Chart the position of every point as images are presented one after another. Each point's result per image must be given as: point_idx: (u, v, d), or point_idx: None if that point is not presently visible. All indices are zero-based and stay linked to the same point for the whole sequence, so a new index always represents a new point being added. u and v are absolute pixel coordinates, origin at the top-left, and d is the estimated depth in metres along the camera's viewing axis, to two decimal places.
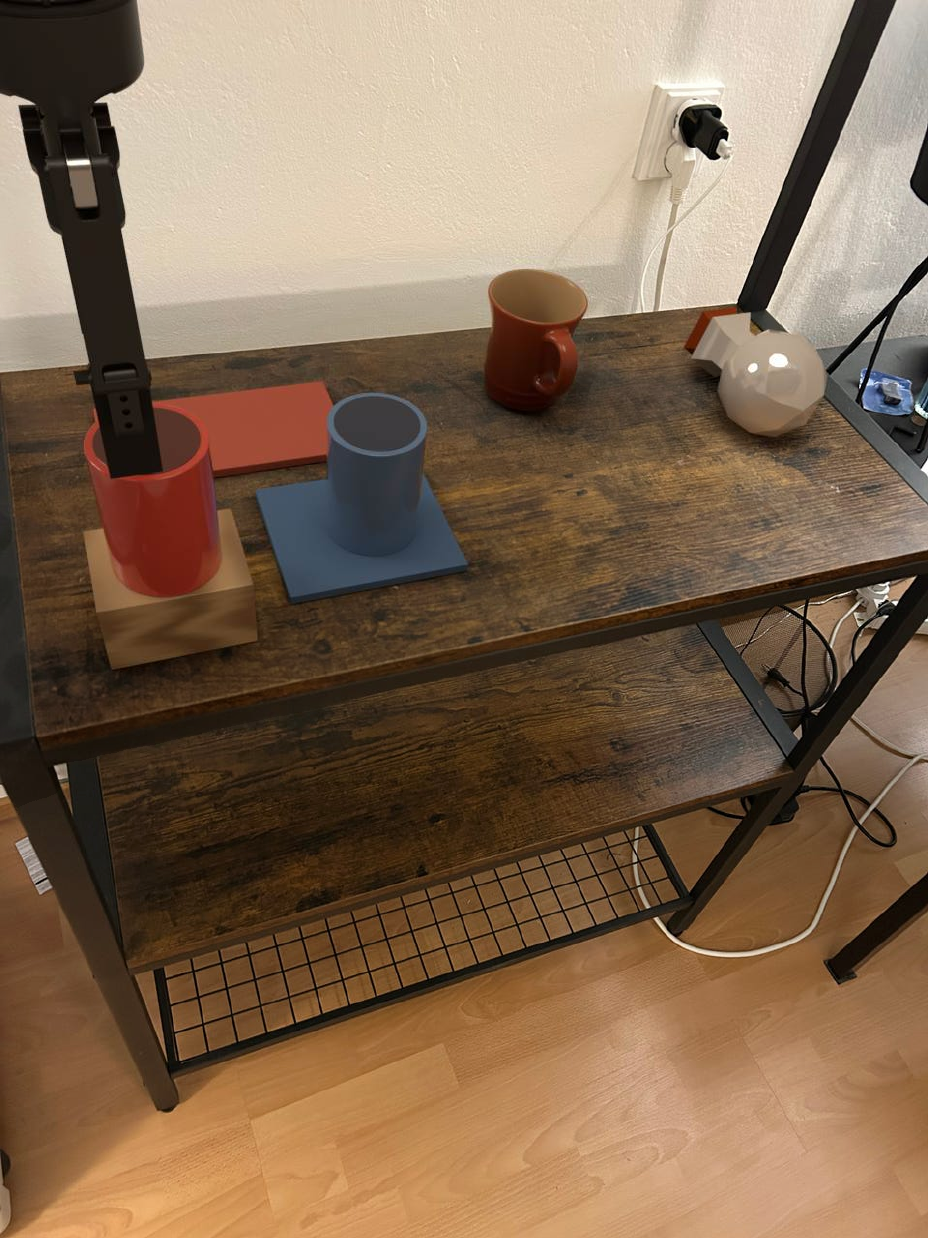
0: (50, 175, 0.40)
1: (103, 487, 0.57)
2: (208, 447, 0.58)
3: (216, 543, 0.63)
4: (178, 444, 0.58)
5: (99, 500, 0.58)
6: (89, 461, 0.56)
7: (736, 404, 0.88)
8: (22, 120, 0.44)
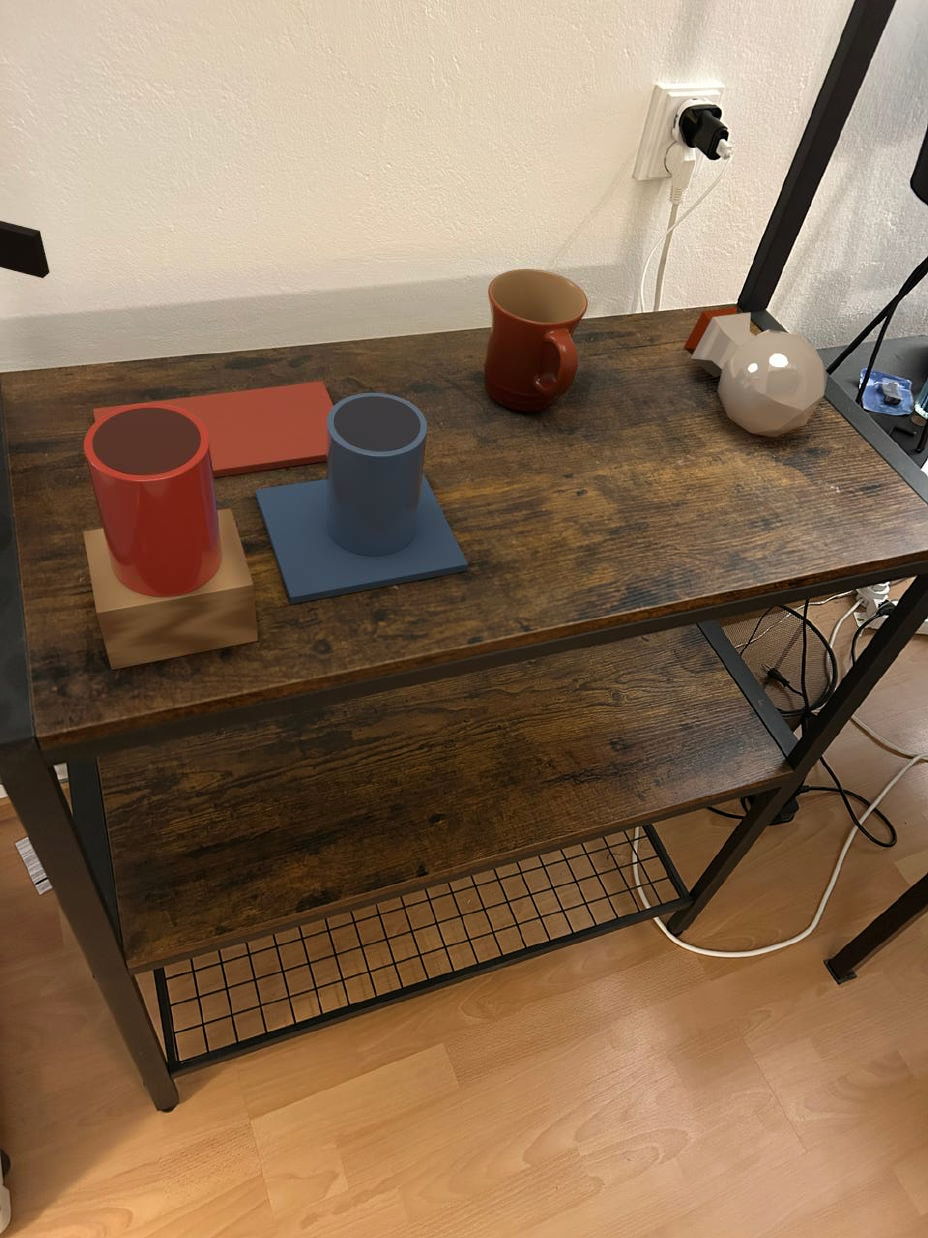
0: None
1: (103, 487, 0.57)
2: (208, 447, 0.58)
3: (216, 543, 0.63)
4: (178, 444, 0.58)
5: (99, 500, 0.58)
6: (89, 461, 0.56)
7: (736, 404, 0.88)
8: None
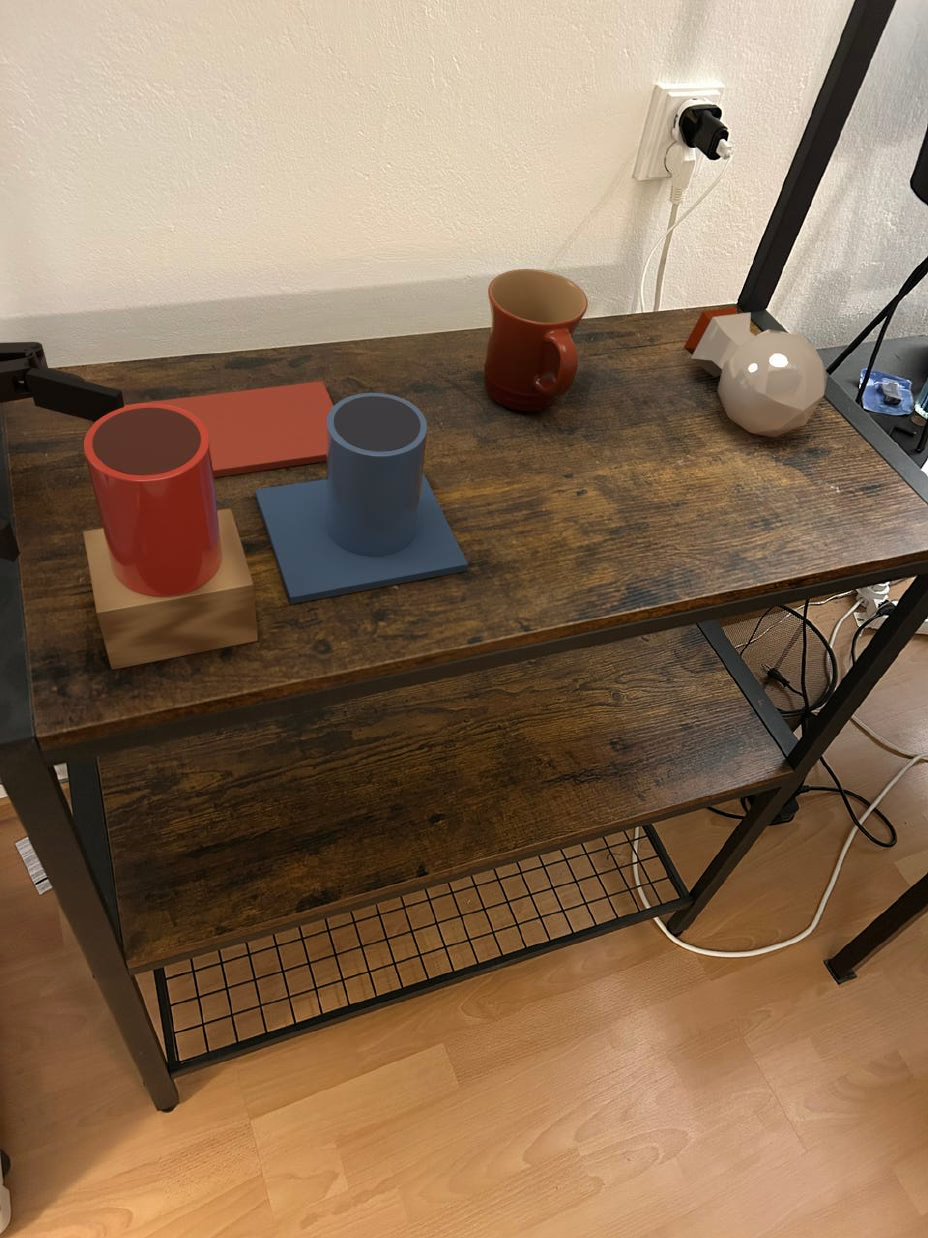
0: None
1: (103, 487, 0.57)
2: (208, 447, 0.58)
3: (216, 543, 0.63)
4: (178, 444, 0.58)
5: (99, 500, 0.58)
6: (89, 461, 0.56)
7: (736, 404, 0.88)
8: None
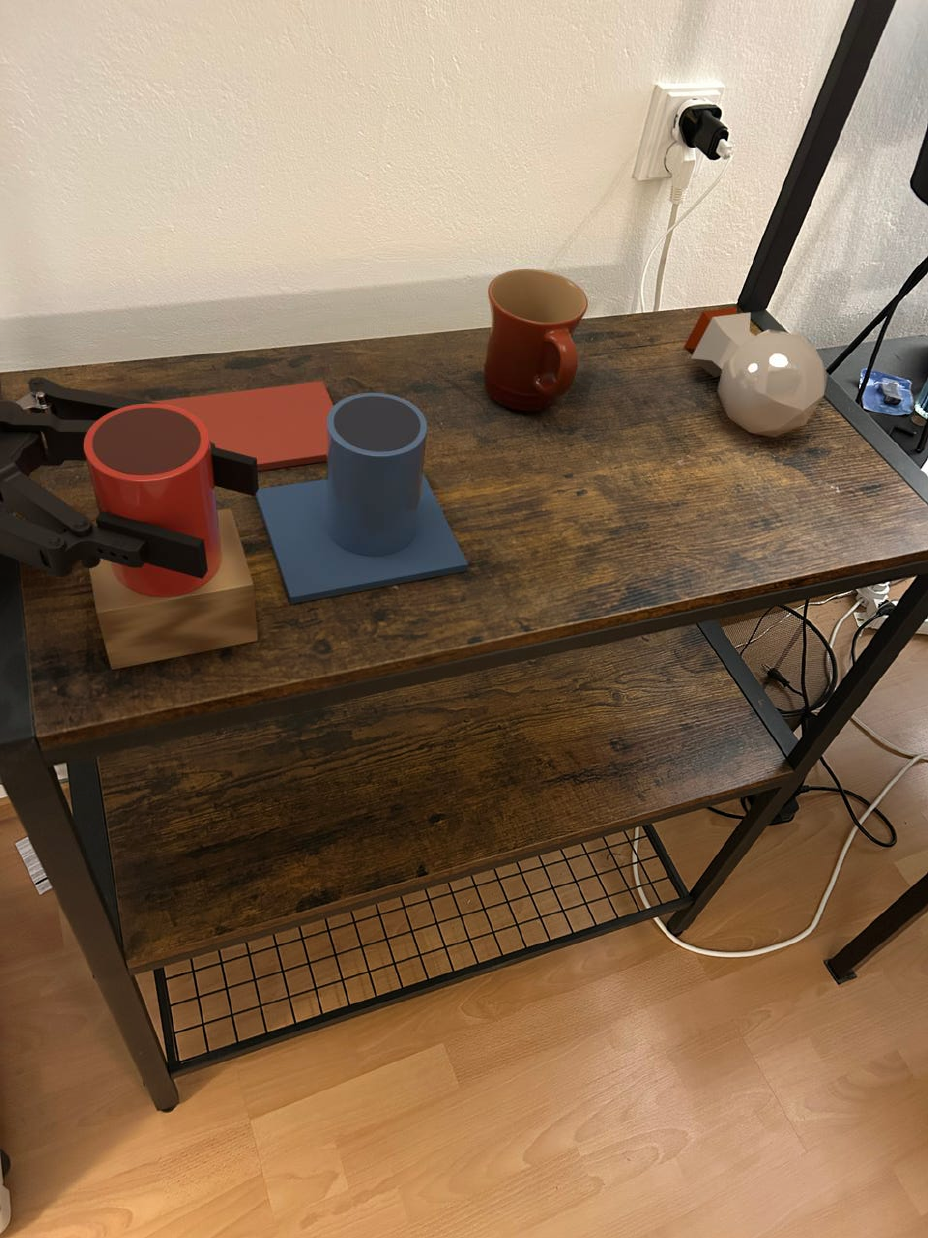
0: (42, 378, 0.66)
1: (103, 487, 0.57)
2: (208, 447, 0.58)
3: (216, 543, 0.63)
4: (178, 444, 0.58)
5: (99, 500, 0.58)
6: (89, 461, 0.56)
7: (736, 404, 0.88)
8: None
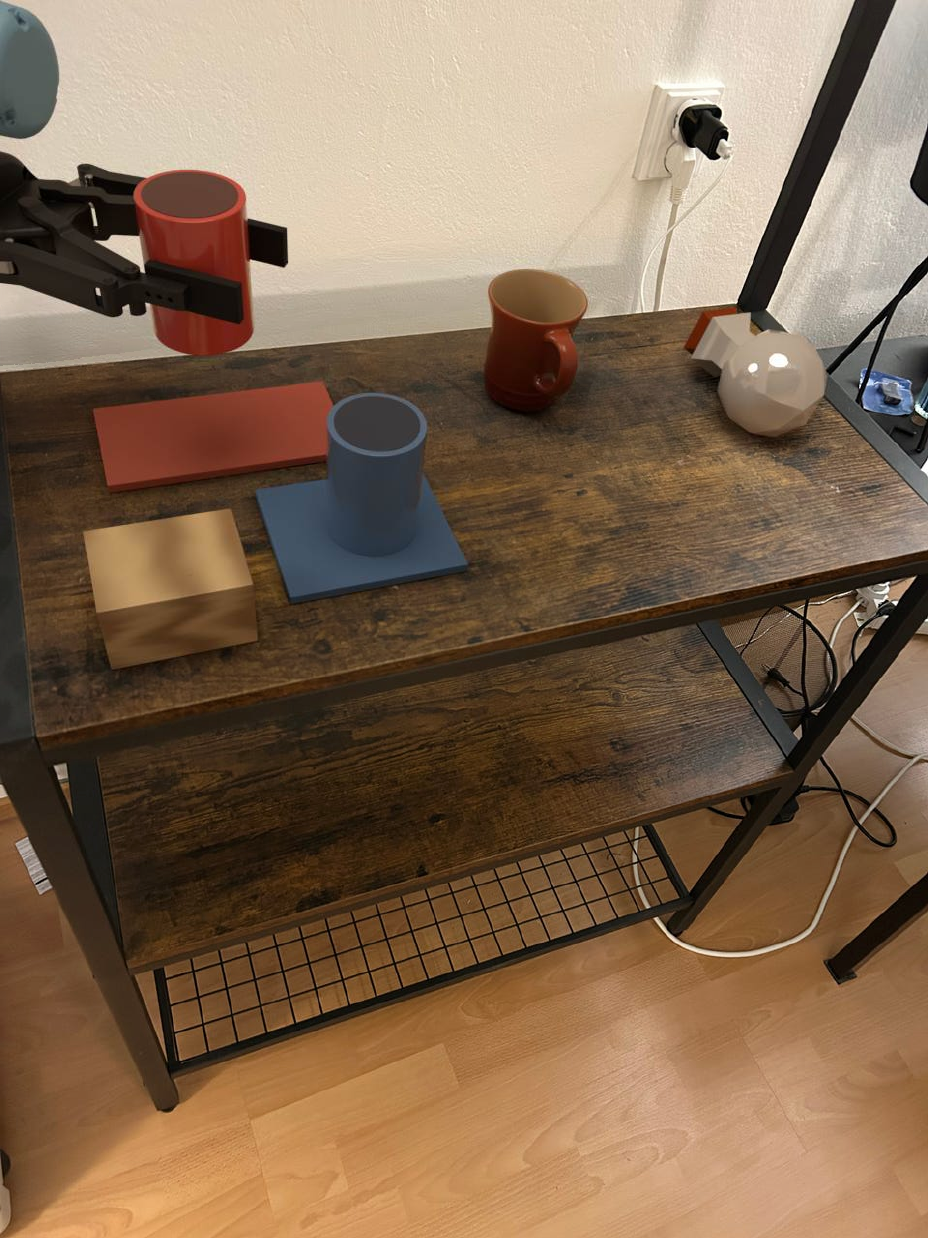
0: (90, 164, 0.72)
1: (151, 233, 0.63)
2: (245, 202, 0.64)
3: (250, 308, 0.69)
4: (218, 198, 0.64)
5: (146, 250, 0.64)
6: (139, 207, 0.62)
7: (736, 404, 0.88)
8: (26, 197, 0.66)
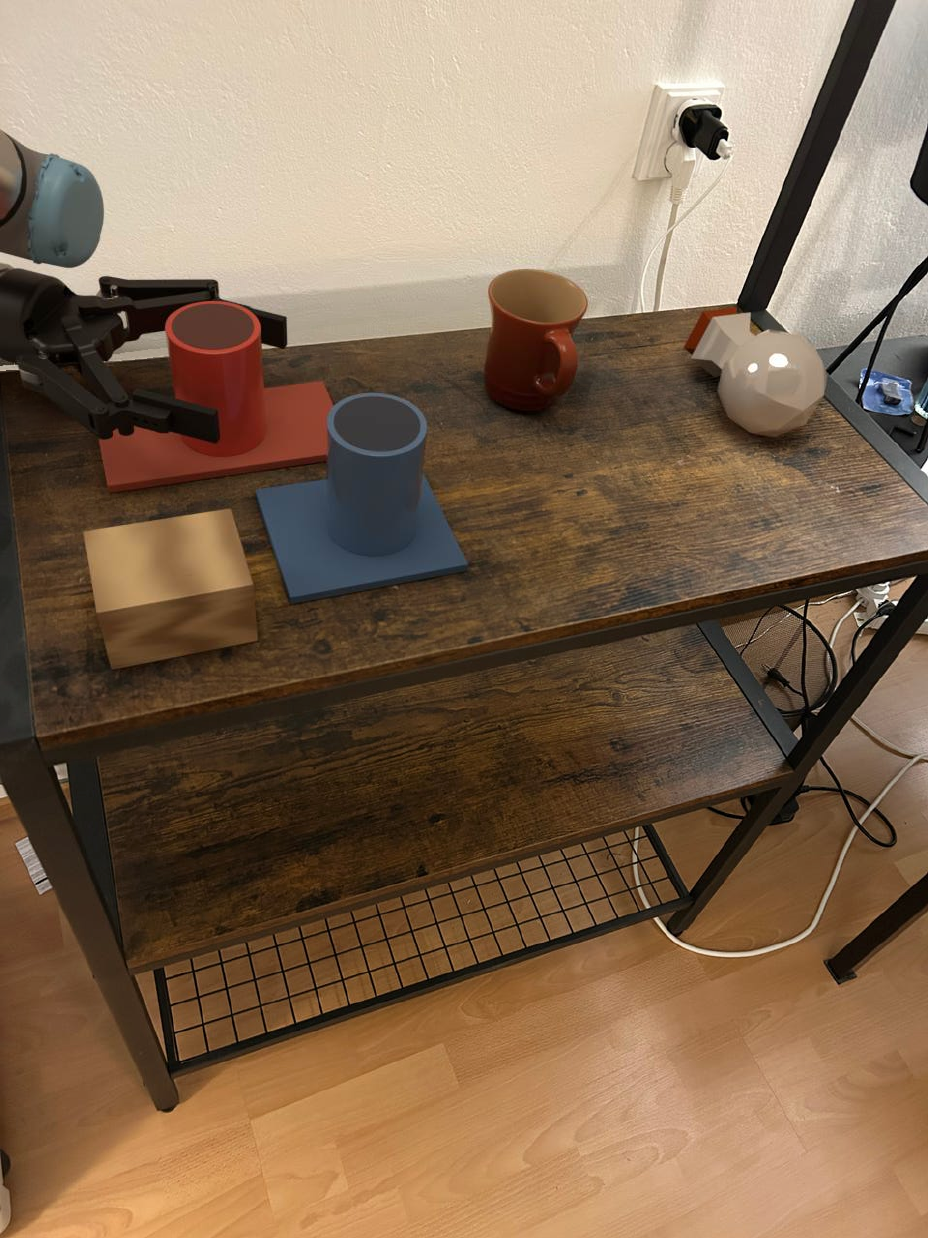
0: (107, 276, 0.82)
1: (180, 360, 0.74)
2: (260, 332, 0.75)
3: (263, 415, 0.80)
4: (237, 329, 0.75)
5: (175, 373, 0.75)
6: (170, 339, 0.73)
7: (736, 404, 0.88)
8: (70, 315, 0.77)
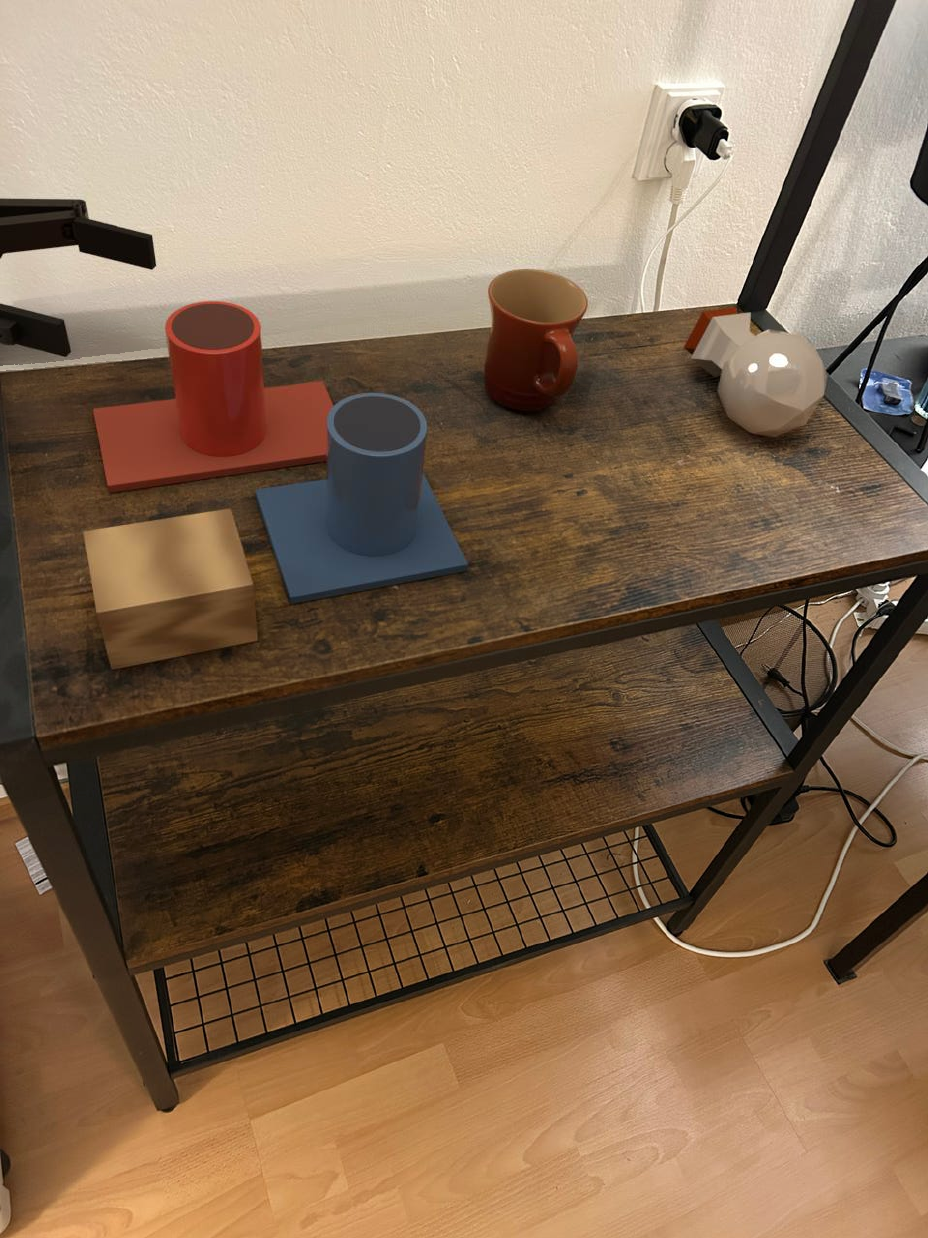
0: None
1: (180, 360, 0.74)
2: (260, 332, 0.75)
3: (263, 415, 0.80)
4: (237, 329, 0.75)
5: (175, 373, 0.75)
6: (170, 339, 0.73)
7: (736, 404, 0.88)
8: None
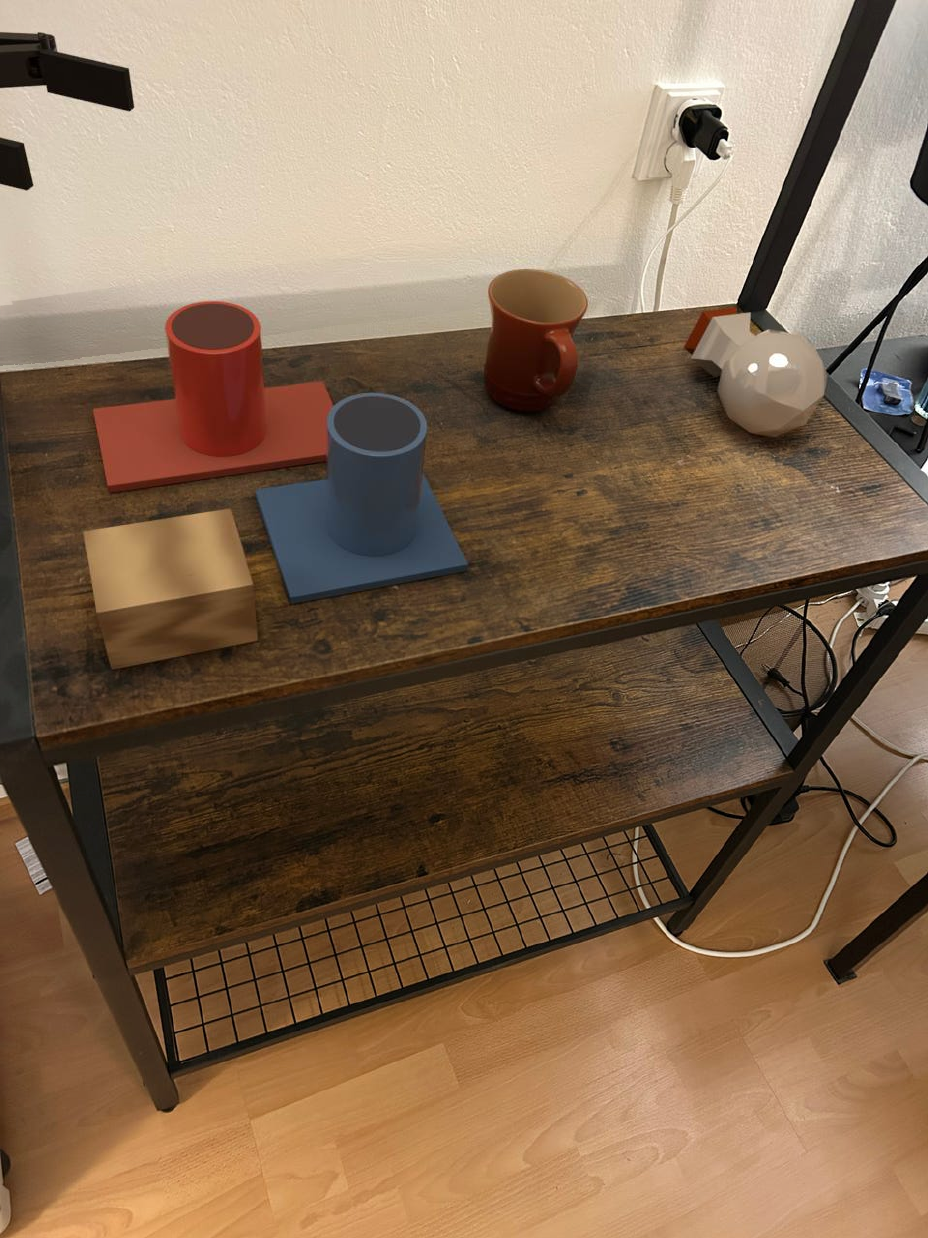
0: None
1: (180, 360, 0.74)
2: (260, 332, 0.75)
3: (263, 415, 0.80)
4: (237, 329, 0.75)
5: (175, 373, 0.75)
6: (170, 339, 0.73)
7: (736, 404, 0.88)
8: None
